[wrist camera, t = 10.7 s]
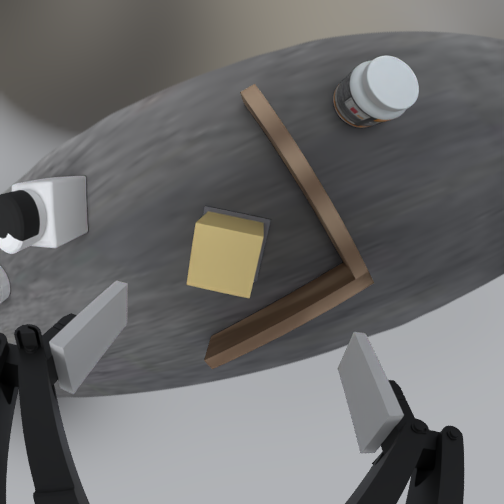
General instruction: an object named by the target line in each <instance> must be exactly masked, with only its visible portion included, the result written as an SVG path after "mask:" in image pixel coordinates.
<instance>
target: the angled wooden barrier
mask: <svg viewBox="0 0 504 504" xmlns="http://www.w3.org/2000/svg"><path fill="white" fill-rule="evenodd" d="M240 93H241V96H242V99H243V102H244V104H245V105H246V107H247V108H248V110H249V111H250V113H251V114H252V115H253V117H254V118H255V120H256V121H257V123H258V124H259V125H260V127H261V128H262V130H263V131H264V133H265V134H266V136H267V137H268V139H269V140H270V142H271V143H272V145H273V146H274V148H275V149H276V151H277V152H278V154H279V155H280V157H281V158H282V160H283V162H284V163H285V165H286V166H287V168H288V169H289V171H290V172H291V174H292V176H293V177H294V179H295V180H296V182H297V184H298V185H299V187H300V188H301V190H302V192H303V193H304V195H305V197H306V198H307V200H308V202H309V203H310V205H311V207H312V208H313V210H314V212H315V213H316V215H317V217H318V218H319V220H320V222H321V224H322V225H323V227H324V229H325V230H326V232H327V234H328V236H329V237H330V239H331V241H332V243H333V245H334V246H335V248H336V250H337V252H338V253H339V255H340V257H341V259H342V261H343V263H341V264H340V265H338V266H336V267H335V268H333V269H331V270H330V271H328V272H326V273H325V274H323V275H321V276H320V277H318V278H316V279H314V280H313V281H311V282H309V283H308V284H306V285H304V286H302V287H301V288H299V289H297V290H296V291H294V292H292V293H290V294H289V295H287V296H285V297H283V298H281V299H280V300H278V301H276V302H274V303H272V304H271V305H269V306H267V307H265V308H263V309H262V310H260V311H258V312H256V313H254V314H252V315H251V316H249V317H247V318H245V319H243V320H241V321H239V322H238V323H236V324H234V325H232V326H230V327H228V328H226V329H224V330H222V331H221V332H219V333H217V334H215V335H213V336H211V338H210V342H209V345H208V349H207V352H206V356H205V359H204V361H205V362H206V363H207V364H208V365H209V366H210V367H211V368H212V369H214V368H216V367H218V366H220V365H222V364H225V363H227V362H229V361H231V360H233V359H235V358H238V357H240V356H242V355H244V354H246V353H248V352H250V351H252V350H254V349H256V348H258V347H260V346H262V345H264V344H266V343H268V342H270V341H272V340H274V339H276V338H278V337H280V336H282V335H284V334H286V333H288V332H290V331H291V330H293V329H295V328H297V327H299V326H301V325H303V324H305V323H306V322H308V321H310V320H312V319H314V318H315V317H317V316H319V315H321V314H323V313H324V312H326V311H328V310H330V309H331V308H333V307H335V306H337V305H338V304H340V303H342V302H343V301H345V300H347V299H349V298H350V297H352V296H354V295H355V294H357V293H359V292H360V291H362V290H363V289H365V288H367V287H368V286H370V285H372V284H373V283H374V282H373V280H372V277H371V275H370V273H369V271H368V269H367V267H366V265H365V263H364V261H363V259H362V257H361V255H360V253H359V251H358V250H357V248H356V246H355V244H354V242H353V240H352V238H351V236H350V234H349V232H348V231H347V229H346V227H345V225H344V223H343V221H342V220H341V218H340V216H339V214H338V212H337V211H336V209H335V207H334V205H333V204H332V202H331V200H330V198H329V197H328V195H327V193H326V191H325V190H324V188H323V186H322V185H321V183H320V181H319V180H318V178H317V176H316V175H315V173H314V171H313V170H312V168H311V166H310V165H309V163H308V162H307V160H306V158H305V157H304V155H303V154H302V152H301V150H300V149H299V147H298V146H297V144H296V143H295V141H294V140H293V138H292V137H291V135H290V134H289V132H288V131H287V129H286V128H285V126H284V125H283V123H282V122H281V120H280V119H279V117H278V116H277V114H276V113H275V111H274V110H273V109H272V107H271V106H270V104H269V103H268V101H267V100H266V99H265V97H264V96H263V94H262V93H261V92H260V90H259V89H258V88H257V86H256V85H255V84H253V85H252V86H250V87H248V88H247V89H245V90H243V91H242V92H240Z"/></svg>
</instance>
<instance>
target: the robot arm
mask: <svg viewBox="0 0 504 504" xmlns="http://www.w3.org/2000/svg"><path fill="white" fill-rule="evenodd" d="M127 295H128V284H127V283H123V282H120V281H115V282H114V283H113V284H112V285H111V286H109V287H108V288H107V289H106V290H105V291H104V292H103V293H101V294H100V295H99V296H98V297H97V298H96V299H95V300H94V301H92V302H91V303H90V304H89V305H88V306H87V307H86V308H85V309H83V310H82V311H81V312H80V313H79V314H78V315H74V314H72V313H71V314H69V315H67V316H64V317H63V318H61V319H60V320H59V321H58V322H57V323H56V324H55V325H54V326H53V327H51V328H50V329H49V330H48V331H47V332H46V333H45V334H44V335H43V336H42V335H41V331H40V329H39V328H38V327H37V326H35V325H30V324H27V325H22V326H20V327H18V328H17V329H16V330H15V333H14V335H15V339H16V343H17V345H14V344H9V343H8V342H7V338H6V336H5V335H4V334H3V333H0V504H6V473H7V460H8V459H7V458H8V449H9V441H10V433H11V426H12V420H13V414H14V409H15V404H16V398H17V394H18V390H19V396H20V408H21V417H22V425H23V433H24V439H25V445H26V450H27V456H28V461H29V465H30V470H31V474H32V477H33V482H34V486H35V492H34V493H33V498H34V502H35V504H89V502H88V499H87V497H86V494H85V492H84V489H83V487H82V484H81V482H80V479H79V476H78V473H77V471H76V467H75V465H74V462H73V458H72V455H71V452H70V449H69V446H68V442H67V438H66V435H65V431H64V427H63V423H62V419H61V415H60V411H59V406H58V401H57V396H56V391H55V387H54V384H55V382H56V381H57V380H58V381H59V385H60V388H62V389H64V390H66V391H68V392H70V393H72V394H74V393H75V391H76V390H77V389H78V387H79V386H80V385H81V383H82V382H83V381H84V379H85V378H86V377H87V375H88V374H89V373H90V371H91V370H92V369H93V367H94V366H95V365H96V363H97V362H98V361H99V359H100V358H101V357H102V355H103V354H104V353H105V352H106V350H107V349H108V348H109V346H110V345H111V344H112V343H113V341H114V340H115V339H116V337H117V336H118V335H119V334H120V332H121V331H122V330H123V329H124V327H125V326H126V325H127ZM338 371H339V374H340V378H341V381H342V385H343V388H344V391H345V395H346V399H347V403H348V406H349V410H350V414H351V418H352V422H353V425H354V429H355V433H356V437H357V440H358V445H359V449H360V453H375V452H376V450H377V449H378V448H379V447H380V446H381V447H382V450H383V452H382V453H381V454H380V455H379V456H378V458H377V459H376V460H375V461H374V462H373V463H372V464H373V466H372V467H371V469H370V471H369V472H368V473H367V475H366V476H365V478H364V479H363V480H362V482H361V483H360V485H359V486H358V488H357V489H356V490H355V491H354V493H353V494H352V495H351V497H350V498H349V499H348V501H347V502H346V503H345V504H396V503H397V502H398V500H399V498H400V496H401V494H402V492H403V490H404V489H405V487H406V485H407V483H408V481H409V479H410V477H411V481H410V485H409V490H408V495H407V500H406V504H463V496H464V446H463V436H462V433H461V432H460V431H459V429H457V428H455V427H453V426H446V427H444V428H443V430H442V431H441V432H436V431H431V430H429V429H428V426H427V425H426V424H425V423H424V422H423V421H421V420H419V419H415V418H414V415H413V413H412V411H411V409H410V407H409V405H408V403H407V401H406V399H405V396H404V395H403V392H402V390H401V388H400V387H399V385H398V384H396V382H395V381H393V380H388V379H387V377H386V375H385V372H384V370H383V368H382V366H381V364H380V362H379V360H378V358H377V356H376V354H375V352H374V350H373V348H372V346H371V344H370V342H369V340H368V338H367V336H366V334H365V333H359V332H354V333H353V335H352V337H351V340H350V342H349V344H348V347H347V349H346V351H345V354H344V356H343V358H342V360H341V362H340V364H339V367H338Z"/></svg>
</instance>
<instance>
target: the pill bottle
mask: <svg viewBox="0 0 504 504" xmlns="http://www.w3.org/2000/svg"><path fill="white" fill-rule="evenodd" d="M418 93H419V86H418V81H417V78H416V76H415V74H414V73H413V71H412V70H411V68H410V67H409V66H408V65H407V64H406V63H404V62H403V61H401V60H400V59H398V58H395V57H392V56H380V57H377V58H375V59H374V60H372V61H367V62H364V63H361V64H360V65H358V66H357V67H356V68H355V69H354V70H353V71H352V72H350V74H349V75H348V76H347V77H346V78H345V79H343V80H342V82H341V83H340V84H339V85H338V86H337V88H336V89H335V92H334V95H333V103H334V107H335V110H336V112H337V114H338V115H339V117H340V118H341V119H342V120H343V121H345V122H346V123H348V124H349V125H352V126H354V127H359V128H365V127H370V126H373V125H376V124H379V123H382V122H385V121H389V120H392V119H395V118H397V117H399V116H400V115H402V114H403V113H404V112H405V110H406V109H407V108H409V107H410V106H412V105H413V104H414V103H415V101H416V100H417V97H418Z"/></svg>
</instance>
